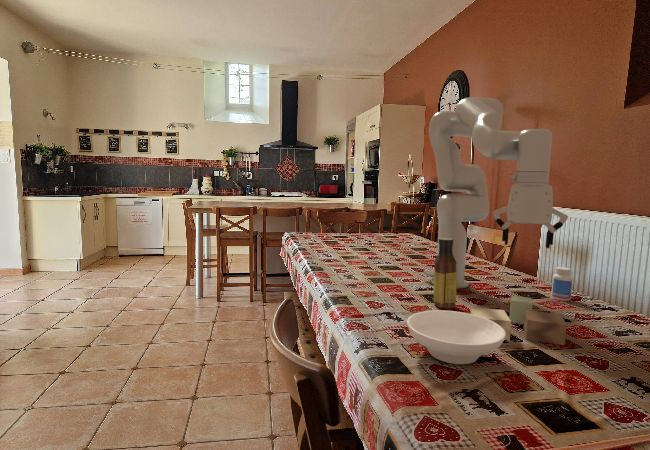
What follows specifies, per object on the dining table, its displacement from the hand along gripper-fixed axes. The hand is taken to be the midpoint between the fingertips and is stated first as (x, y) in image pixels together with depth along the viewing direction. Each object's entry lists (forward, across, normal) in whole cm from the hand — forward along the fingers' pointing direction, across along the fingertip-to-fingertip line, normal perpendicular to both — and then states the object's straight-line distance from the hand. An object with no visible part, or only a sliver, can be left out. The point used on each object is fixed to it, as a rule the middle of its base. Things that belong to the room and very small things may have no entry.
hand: (526, 245), depth 107 cm
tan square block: (+20, +5, -9) cm, 23 cm away
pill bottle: (+20, +12, +29) cm, 37 cm away
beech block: (+20, -7, -13) cm, 25 cm away
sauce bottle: (+20, -20, +3) cm, 29 cm away
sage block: (+20, 0, 0) cm, 20 cm away
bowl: (+20, -13, -31) cm, 39 cm away
